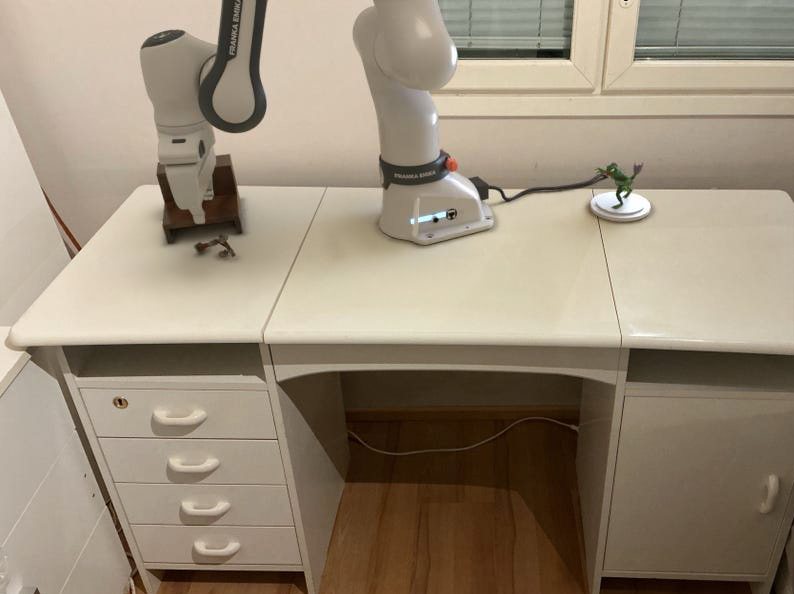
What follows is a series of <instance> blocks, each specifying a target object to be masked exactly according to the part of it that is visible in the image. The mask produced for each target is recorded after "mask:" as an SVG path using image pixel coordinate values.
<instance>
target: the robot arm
mask: <svg viewBox="0 0 794 594" xmlns="http://www.w3.org/2000/svg"><path fill="white" fill-rule="evenodd" d="M268 3H269V0H221V5H220V18H219V27H218V34H217V44H216V43H211V42H208V41H205V40H202V39H200V38H198V37H195V36H193V35H192V34H190V33H189V32H187V31H185V30H183V29H168V30H167V29H166V30H163V31H160V32H157V33H155V34H152V35H151V36H149V37H147V38H146V39H145V41H144V42H143V43H142V45H141V46H140V49H139V62H140V68H141V74H142V78H143V83H144V88H145V92H146V94H147V98H148V99H149V100H150V102H151V104H152V107H153V120H154V124H155V125H154V126H155V129H156V135H157V139H158V145H157V159H158V162H160V164H165V171H166V175H167V179H168V182H169V185H170V188H171V191H172V194H173V197H174V200H175V202H176V204H177V206H178V207H179V208H180V209H189V211H190V212H191V214H192V215H193V218H194V222H195V223H196V224H203V225H205V224H204V223H205V221H206V216H205V211H203V208H202V202H203V199H204V200H212V199H213V197H214V192H213V185H212V174H213V171H214V168H215V166H216V156H217V155H216V152H215V147H214V146H215V144H216V141H217V140H216V136H215V132H214V128H215V129H217V130H219V131H221V132H224V133H228V134H243V133H247V132H249V131H252V130H253V129H255V128H256V127H258V126H259V125H260V123H262V121H263V120H264V118H265V116H266V112H267V106H268V103H267V96H266V92H265V88H264V86H263V83H262V79H261V72H260V71H261V69H260V68H261V55H262V47H263V40H264V39H263V38H264V30H265V22H266V15H267V8H268ZM372 3H373V5H371V6H368V7H366V8H364V9H363V10H362V11H361V12H360V13H359V14H358V15H357V17H356V18H355V21H354V23H353V26H352V34H351V35H352V41H353V44H354V47H355V49H356V51H357V53H358V55H359V58H360V60H361V64H362V66H363V70H364V74H365V78H366V81H367V85H368V88H369V92H370V95H371V99H372V102H373V107H374V110H375V115H376V121H377V130H378V140H379V150H380V151H379V152H380V154H379V156H378V171H379V179H380V184H381V187H382V202H381V212H380V218H379V222H378V226H379V229H380V230H381V232H383V233H384V234H385V235H387V236H389V237H391V238H394V239H398V240H404V241H411V242H412V243H415V244H418V245H421V246H427V245H432V244H436V243H439V242H440V243H441V242H445V241H448V240H452V239H457V238H459V237H464V236H468V235H471V234H475V233H479V232H483V231H488V230H490V229H492V227H493V226H494V223H495V222H494V221H495V219H494V215H493V211H492V210H491V208H490V206H489V205H488V204H487V203H486V202H485V201H486V200H489V199H490V198H489V197H490V191H489V190H495V191H497V192H499V193H500V196H501V198H502V200H504V201H505V202H512V201H514V200H517V199H519V198H521V197H522V196H524V195H526V194H529V193H532V192H542V191H545V192H546V191H559V190H567V189H573V188H579V187H582V186H586V185H589V184H592V183H594V182H595V181H596V180H598V179H599V178H601V177H602V178H605V179H609V178H610V176H607V175H606V173H605V174H602V175H601V173H600V172H599V173H597V174H596V175H595V176H594V177H592V178H590V179H589V180H584V181H582V182H577V183H571V184H564V185H556V186H555V185H554V186H538V187H530V188H527V189H523V190H522V191H520V192H519V193H517V194H516V195H514V196H512V197H508V196H506V193H505V192H504V190H503V189H502V188H501V187H499V186H495V185H490V184H489V183H487V182H486V181H484V180H483V179H482V178H481V177H479V175H477V176H473V177H466V176H464V175H462V174H460V173H459V172H457V169H458V168H459V164H458V162H456V159H455V158H453V157H452V156H451V155H450V153H448V152H446V151H445V150H444V149H443V147H441V145H440V144H441V143H440V141H441V140H440V124H439V123H440V122H439V121H440V120H439V113H438V108H437V105H436V104H435V102H434V101H433V98H432V96H431V92H434V91H435V92H436V91H439V90H441V89H442V88H444V87H446V85H448V84H449V82H450V81H451V80H452V78H453V77H454V75H455V73H456V71H457V67H458V63H459V61H458V60H459V58H458V57H459V55H458V54H459V53H458V50H457V46H456V43H455V41H453V39H452V38H451V36H450V33H449V32H448V28H447V27H446V24H445V22H444V21H445V20H444V18H443V15H442V12H441V7H440V4H439V0H372ZM599 175H600V176H599Z"/></svg>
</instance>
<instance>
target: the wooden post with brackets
mask: <svg viewBox="0 0 794 594" xmlns="http://www.w3.org/2000/svg"><path fill="white" fill-rule="evenodd" d="M228 240H229V236H228V235H226V234H224V235H223V234H219V235H218V238H214V239H212V240H210V241H208V242H203V243H202V241H198V242H196V243H195V244H194V245H193V248H194V249H195V251H196V253H197V255H200V254H203V252H205V251H206V249H208V248H212V247H216V246H217V245H220V246H222V247H224V248H225V249H223V250H221V251H219V252H218V257H220V258H224V257H227V256H228V255H230V256H231V258H234V257H236V256H237V255H236V253H235V251H234V249H233V248H232V246H231V245H230V244H229V242H228Z"/></svg>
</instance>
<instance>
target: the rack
mask: <svg viewBox="0 0 794 594" xmlns="http://www.w3.org/2000/svg"><path fill="white" fill-rule="evenodd" d="M233 165H234V164H233V161H232V155H231V154H230V153H227V154H217V155H216V166H215V168H214V171H213V174H212V185H213V192H214V197H213V199H212V200H204V199H203V202H202V208H203V211H205V216H206V221H205V223H204V224H196V223H195V222H194V218H193V215H192V214H191V212H190V211H189V209H180V208H179V207H178V206H177V204H176V202H175V200H174V197H173V194H172V191H171V188H170V185H169V182H168V179H167V175H166V171H165V164H160V162H159V161H158V162H157V166H156V173H155V175H156V178H157V181H158V185H159V189H160V193H161V196H162V199H163V203H164V204H163V213H162V225H161V226H162V229H163V233H164V236H165V239H166V243H167V244H170V245H171V244H174V235H175V229H178V228H179V229H181V228H187V227H188V228H189V227H195V226H203V225H209V224H216V223H225V222H231V221H232V222H233V221H234V223H235V230H236V232H237V233H236V234H237V235H242V234H244V230H243V218H242V206H241V197H240V193H239V188H238V184H237V179H236V174H235V169H234V166H233Z"/></svg>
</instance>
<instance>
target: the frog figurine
mask: <svg viewBox="0 0 794 594" xmlns="http://www.w3.org/2000/svg"><path fill="white" fill-rule="evenodd" d="M604 166H605V167H606V169H604V168H601V167H599V166H597V168H595V169H594V170H595V171H596V173H595V174H596V175H598V174H600V173H601V175H602V174H606V175H607V176H609V178H610V179H612V180H613V181H614V184H615V186H616V187H617V188H616V191H608V192H607V191H606V192H603V193H599V194H597V195H595V196H594V197H592V198H591V200H590V206H589V208H590V211H591V212H592V213H593V214H594V215H595V216H597V217H599V218H601V219H603V220H607V221H612V222H618V223H619V222H620V223H621V222H622V223H625V222H627V223H628V222H634V221H639V220H642V219H644V218H646V217H647V216H648V215H649V214H650V211H651V203H650V202H649V200H648V199H647V198H645V197H644V196H642V195H639V194H636V193H632V192H633V191H634V188H632V187H631V185H632V184H634V180H635V178H636V177H637V176H638V175H639V174H640V173H641V171H642V169H643V167H644V162H642V164H640V163H639V164H638V165H636V163H634V164H633V174H632V175H631V176H629V175H625V172H623V171H624V170H626V169H625V168H624V169H623V167H620V168H619V166H618V163H616V162H612V163H611V164H610V165H604ZM597 170H598V171H597ZM599 176H600V175H599Z"/></svg>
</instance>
